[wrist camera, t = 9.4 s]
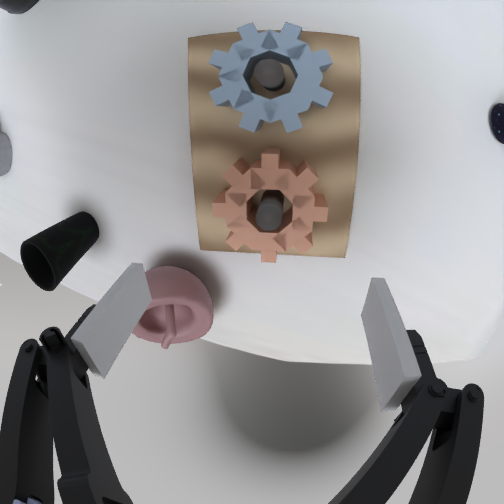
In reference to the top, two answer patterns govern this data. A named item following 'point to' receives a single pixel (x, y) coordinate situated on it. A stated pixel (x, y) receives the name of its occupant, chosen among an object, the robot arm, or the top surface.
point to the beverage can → (498, 122)
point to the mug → (5, 154)
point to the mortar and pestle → (175, 307)
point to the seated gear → (284, 51)
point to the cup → (58, 249)
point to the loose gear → (244, 212)
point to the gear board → (277, 140)
